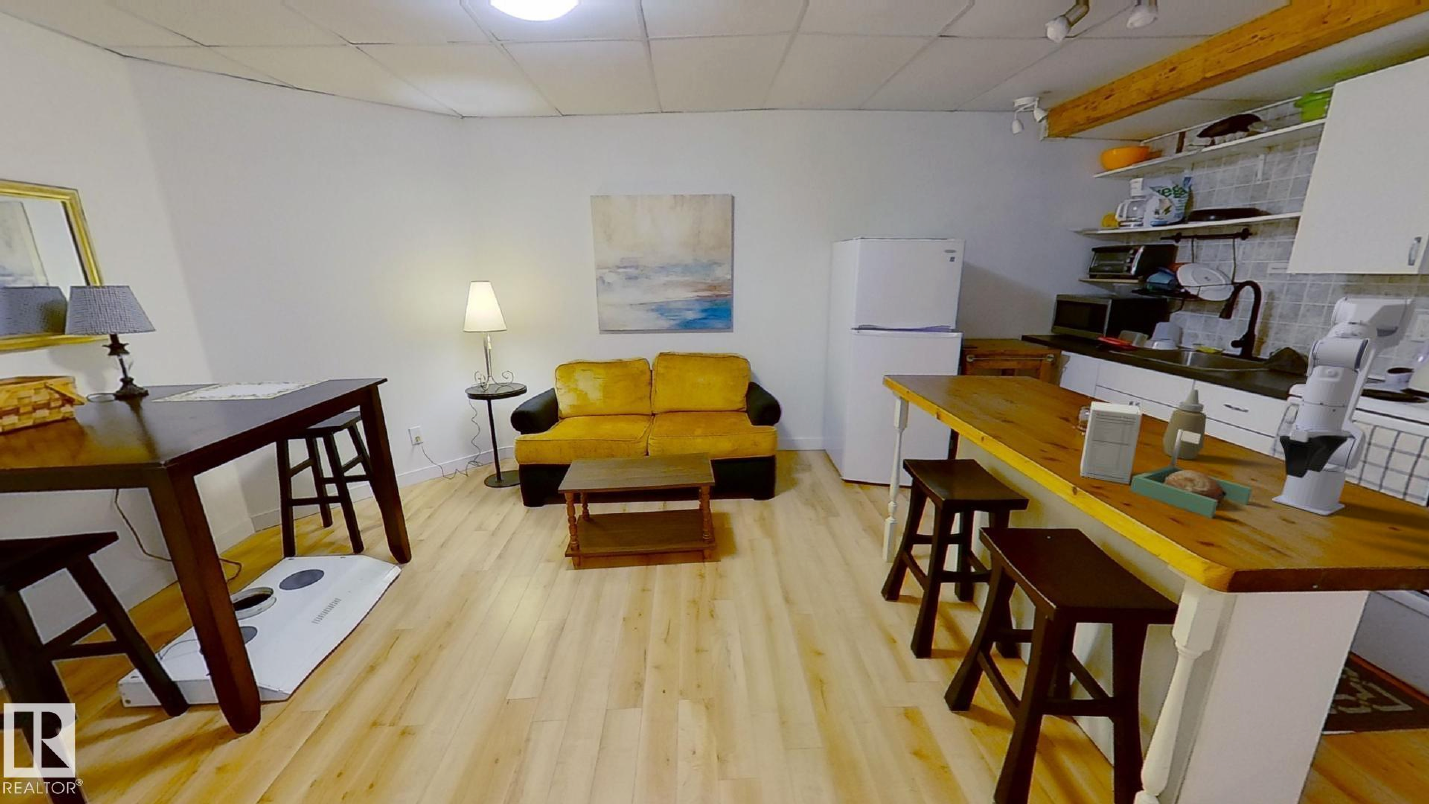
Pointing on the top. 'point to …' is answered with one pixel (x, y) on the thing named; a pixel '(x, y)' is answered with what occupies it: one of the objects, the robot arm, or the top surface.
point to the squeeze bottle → (1186, 427)
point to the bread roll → (1197, 484)
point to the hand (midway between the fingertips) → (1303, 473)
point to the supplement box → (1110, 442)
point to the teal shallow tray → (1156, 489)
